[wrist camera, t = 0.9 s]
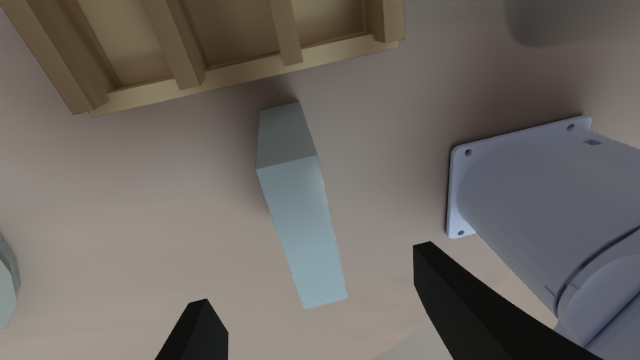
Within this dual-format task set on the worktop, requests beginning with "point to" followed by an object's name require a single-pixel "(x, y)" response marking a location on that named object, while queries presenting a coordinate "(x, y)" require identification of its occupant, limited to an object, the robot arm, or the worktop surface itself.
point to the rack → (191, 43)
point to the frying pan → (7, 283)
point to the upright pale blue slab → (299, 204)
